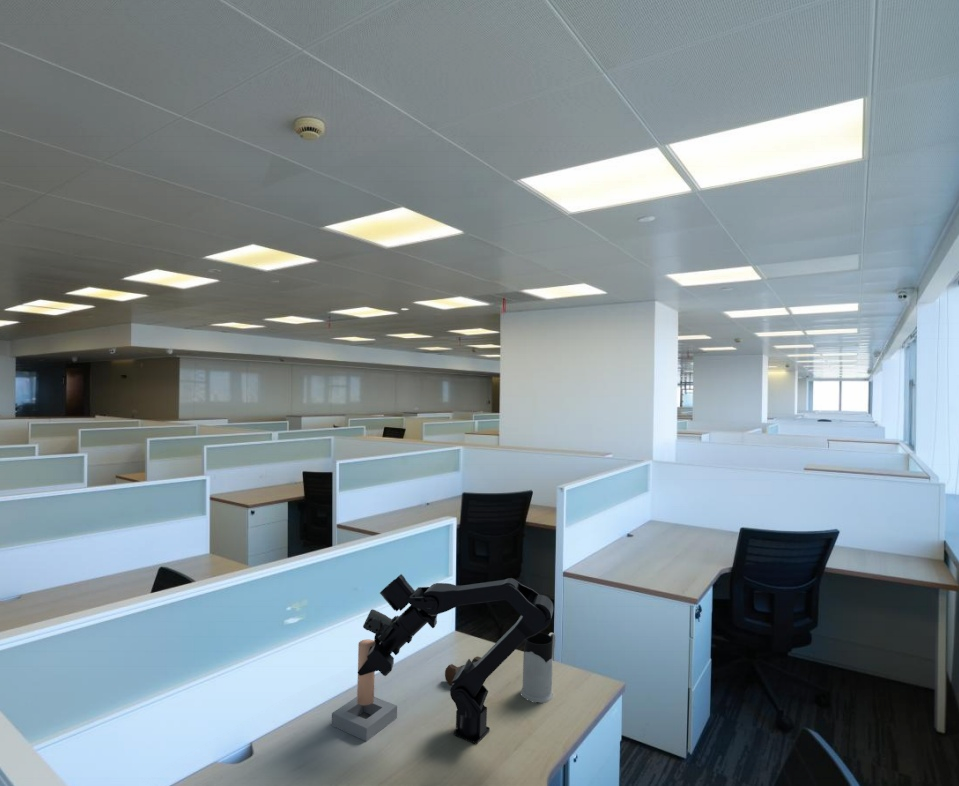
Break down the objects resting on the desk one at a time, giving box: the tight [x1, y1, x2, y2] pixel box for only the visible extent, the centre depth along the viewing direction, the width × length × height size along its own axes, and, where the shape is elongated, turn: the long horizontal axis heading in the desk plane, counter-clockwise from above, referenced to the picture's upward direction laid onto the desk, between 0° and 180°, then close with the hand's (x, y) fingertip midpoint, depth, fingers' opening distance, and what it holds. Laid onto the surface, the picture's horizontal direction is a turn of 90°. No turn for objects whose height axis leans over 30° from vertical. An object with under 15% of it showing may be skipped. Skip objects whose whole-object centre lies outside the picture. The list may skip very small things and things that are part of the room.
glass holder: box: [520, 632, 556, 704], centre depth 152 cm, size 9×14×15 cm, turn 146°
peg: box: [356, 639, 376, 705], centre depth 135 cm, size 4×4×14 cm
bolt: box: [444, 656, 482, 687], centre depth 158 cm, size 6×5×15 cm
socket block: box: [331, 696, 398, 742], centre depth 135 cm, size 11×11×3 cm
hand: (360, 669), depth 135 cm, fingers closed on peg, 4 cm apart
